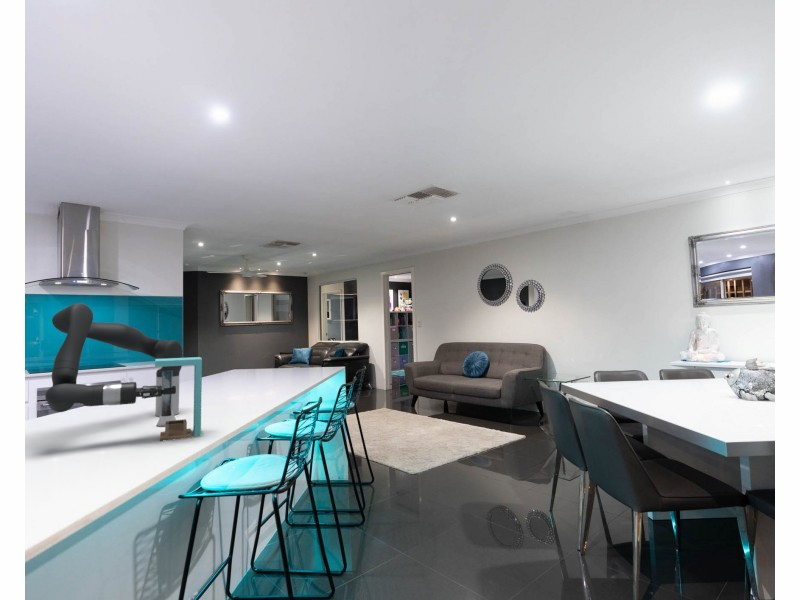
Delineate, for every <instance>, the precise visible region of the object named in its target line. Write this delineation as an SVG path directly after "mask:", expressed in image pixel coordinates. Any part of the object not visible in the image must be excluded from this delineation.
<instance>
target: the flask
mask: <svg viewBox="0 0 800 600" xmlns="http://www.w3.org/2000/svg"><path fill="white" fill-rule="evenodd" d="M174 420H177V419H176V415H174V413H173V411H172V415H171V416H159V418H158V421H157V423H156V427H165V424H166V421H174Z"/></svg>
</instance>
